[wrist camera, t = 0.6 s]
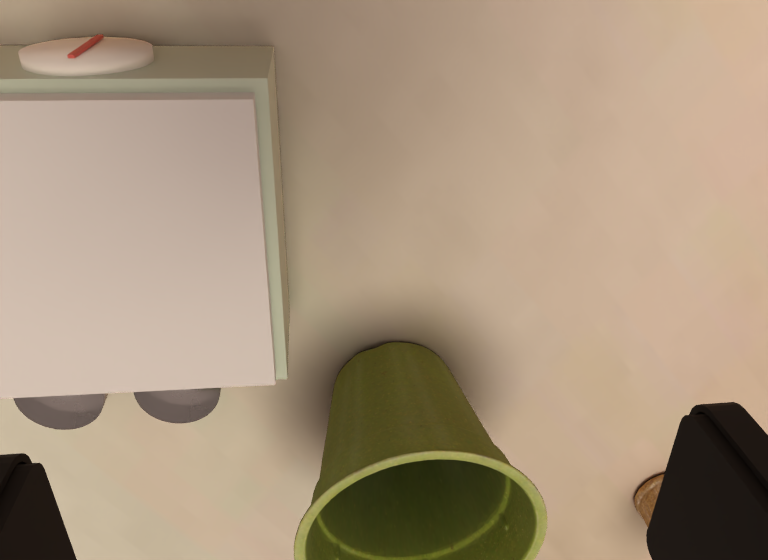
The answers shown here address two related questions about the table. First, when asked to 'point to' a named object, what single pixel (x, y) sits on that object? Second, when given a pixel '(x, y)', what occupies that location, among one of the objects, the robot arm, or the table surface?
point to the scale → (140, 218)
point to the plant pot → (414, 471)
